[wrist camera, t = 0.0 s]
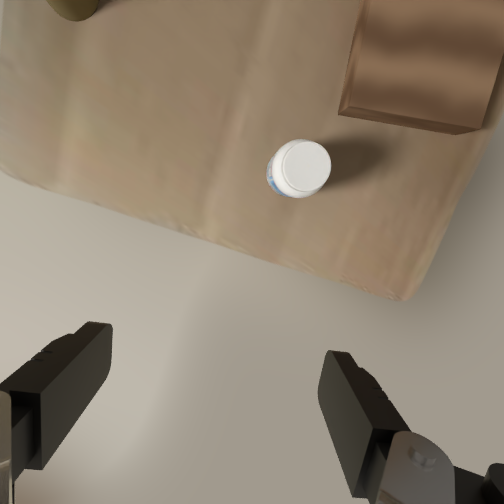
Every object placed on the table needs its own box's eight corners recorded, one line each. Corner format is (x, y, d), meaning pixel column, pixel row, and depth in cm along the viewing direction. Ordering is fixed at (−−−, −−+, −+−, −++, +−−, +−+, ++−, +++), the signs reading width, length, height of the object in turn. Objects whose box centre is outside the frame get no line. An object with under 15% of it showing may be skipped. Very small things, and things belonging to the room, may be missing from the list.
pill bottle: (317, 184, 38) (348, 183, 27) (276, 203, 38) (290, 210, 27) (301, 140, 37) (326, 121, 26) (258, 160, 37) (265, 150, 26)
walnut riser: (367, -34, 32) (384, -64, 29) (496, -7, 34) (529, -32, 30) (337, 114, 36) (349, 105, 32) (455, 135, 37) (480, 129, 33)
